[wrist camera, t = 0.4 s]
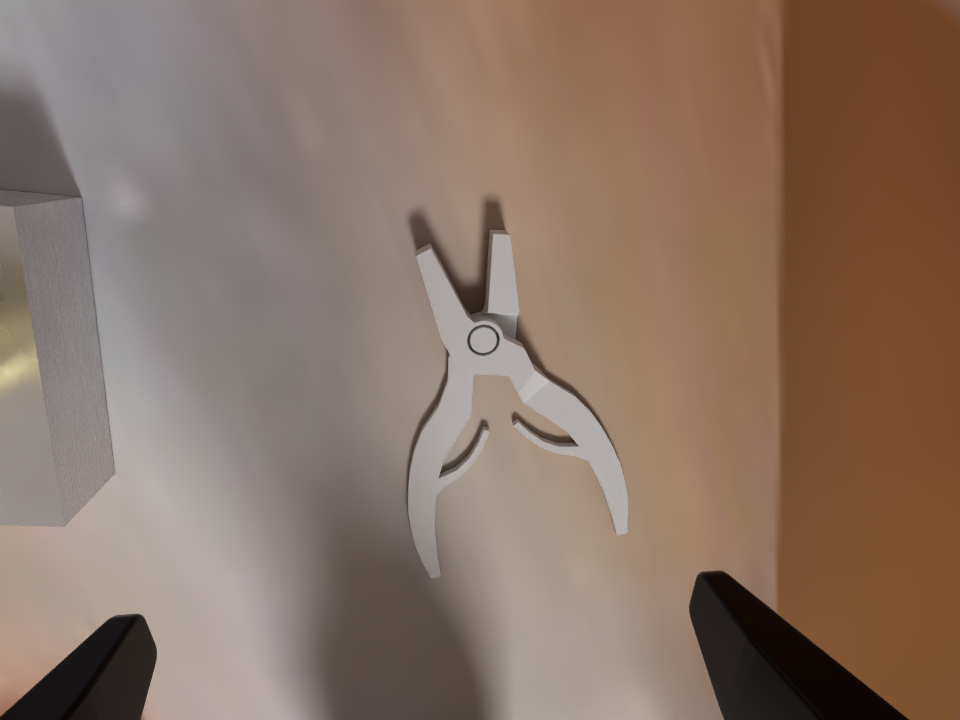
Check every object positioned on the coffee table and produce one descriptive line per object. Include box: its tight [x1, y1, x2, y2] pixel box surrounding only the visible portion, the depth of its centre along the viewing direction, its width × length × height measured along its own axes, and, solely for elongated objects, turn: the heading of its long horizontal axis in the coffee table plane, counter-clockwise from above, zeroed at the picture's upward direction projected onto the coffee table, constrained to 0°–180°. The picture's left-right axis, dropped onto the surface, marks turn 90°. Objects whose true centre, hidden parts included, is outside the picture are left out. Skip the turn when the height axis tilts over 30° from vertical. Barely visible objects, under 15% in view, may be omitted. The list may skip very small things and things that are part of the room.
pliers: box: [408, 230, 628, 579], centre depth 24 cm, size 10×2×15 cm
